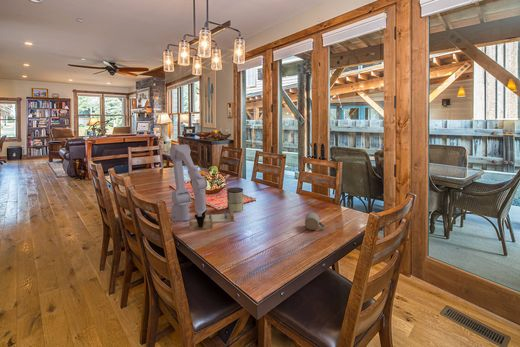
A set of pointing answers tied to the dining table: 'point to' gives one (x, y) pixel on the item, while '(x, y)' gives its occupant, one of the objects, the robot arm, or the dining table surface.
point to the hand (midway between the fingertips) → (201, 225)
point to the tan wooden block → (206, 224)
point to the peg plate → (221, 217)
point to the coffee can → (235, 199)
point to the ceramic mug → (313, 222)
